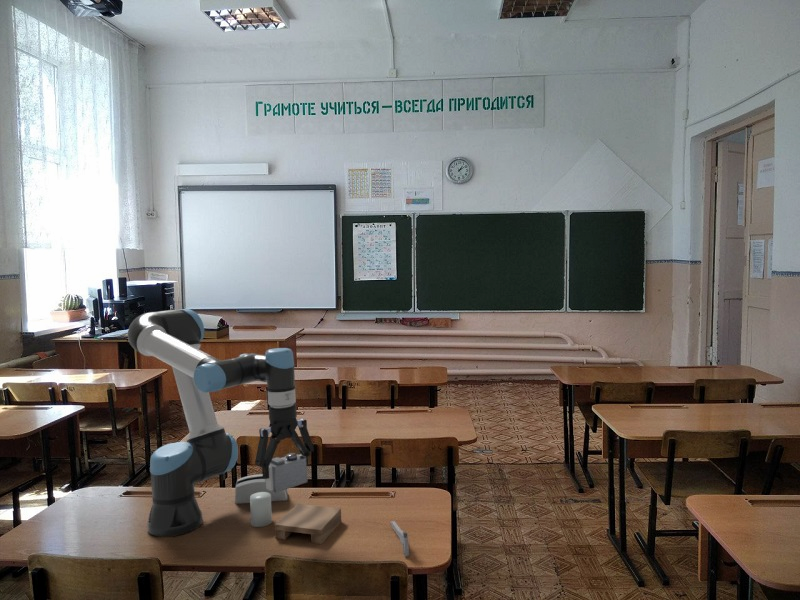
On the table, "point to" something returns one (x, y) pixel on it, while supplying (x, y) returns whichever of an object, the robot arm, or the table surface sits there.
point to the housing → (288, 471)
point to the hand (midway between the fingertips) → (286, 483)
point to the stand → (309, 522)
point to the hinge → (255, 489)
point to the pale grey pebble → (260, 509)
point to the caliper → (401, 538)
